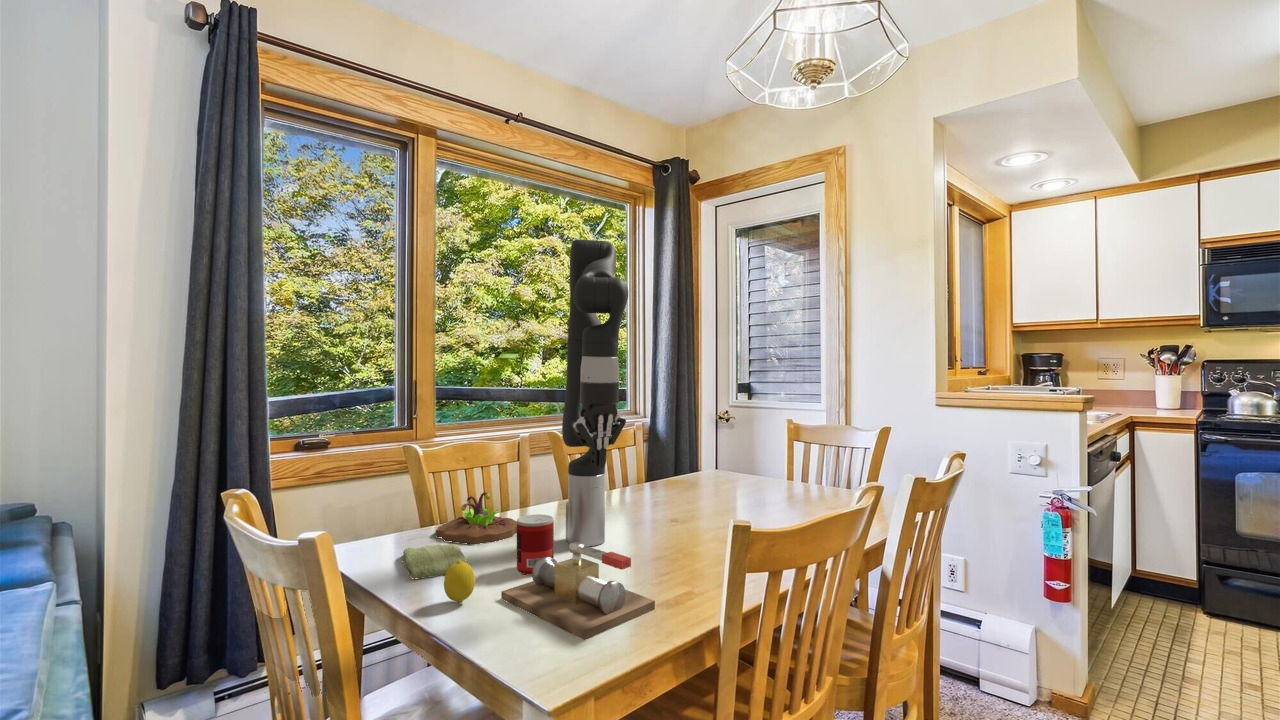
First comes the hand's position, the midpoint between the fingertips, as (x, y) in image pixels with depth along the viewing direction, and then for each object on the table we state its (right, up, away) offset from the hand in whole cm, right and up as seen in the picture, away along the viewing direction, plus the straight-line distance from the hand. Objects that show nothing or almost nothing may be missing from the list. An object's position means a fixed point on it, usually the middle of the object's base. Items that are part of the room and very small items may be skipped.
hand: (598, 467), depth 116 cm
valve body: (-4, -24, -6) cm, 25 cm away
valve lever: (+1, -15, -10) cm, 18 cm away
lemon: (-26, -25, -6) cm, 36 cm away
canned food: (-15, -25, +13) cm, 32 cm away
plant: (-34, -25, +41) cm, 59 cm away
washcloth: (-38, -25, +16) cm, 48 cm away
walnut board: (-4, -24, -6) cm, 25 cm away
